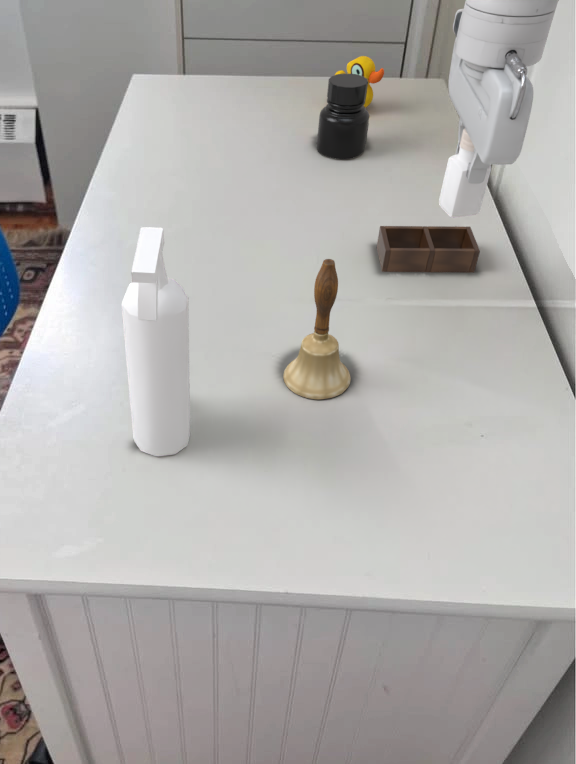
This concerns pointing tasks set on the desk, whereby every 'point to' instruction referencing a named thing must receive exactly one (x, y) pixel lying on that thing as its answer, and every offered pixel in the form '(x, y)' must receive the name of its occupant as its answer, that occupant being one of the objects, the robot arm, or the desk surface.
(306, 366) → the hand bell
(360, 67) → the duckling
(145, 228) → the white spray bottle
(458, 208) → the pepper shaker
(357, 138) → the ink bottle
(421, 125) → the desk surface
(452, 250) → the holder
